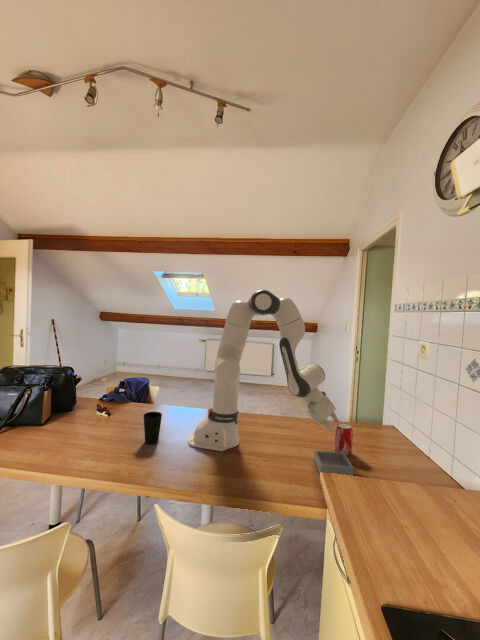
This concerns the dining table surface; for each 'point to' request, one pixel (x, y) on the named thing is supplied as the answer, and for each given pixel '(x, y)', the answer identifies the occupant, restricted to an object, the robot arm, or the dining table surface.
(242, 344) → the robot arm
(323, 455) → the tray
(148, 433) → the cup
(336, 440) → the soda can
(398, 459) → the dining table surface
